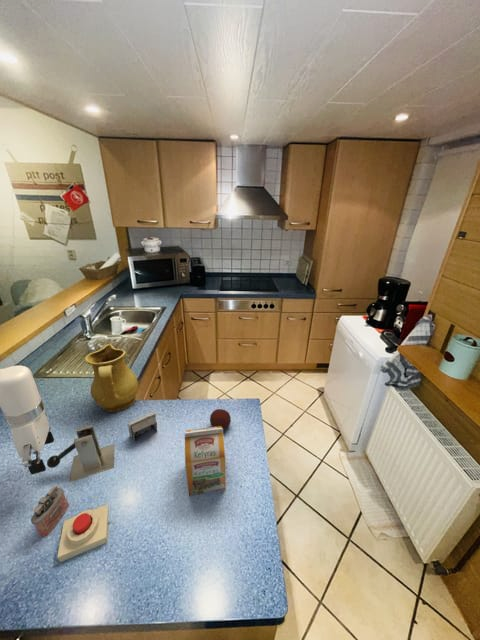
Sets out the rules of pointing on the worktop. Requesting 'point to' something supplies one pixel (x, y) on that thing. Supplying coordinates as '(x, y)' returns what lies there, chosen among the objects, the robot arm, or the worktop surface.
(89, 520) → the button
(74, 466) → the bracket
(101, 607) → the worktop surface
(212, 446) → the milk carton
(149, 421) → the electrical switch
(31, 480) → the worktop surface
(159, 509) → the worktop surface
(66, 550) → the control box
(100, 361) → the pitcher
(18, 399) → the robot arm
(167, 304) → the worktop surface
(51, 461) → the lever
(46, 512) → the lighter
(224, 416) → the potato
